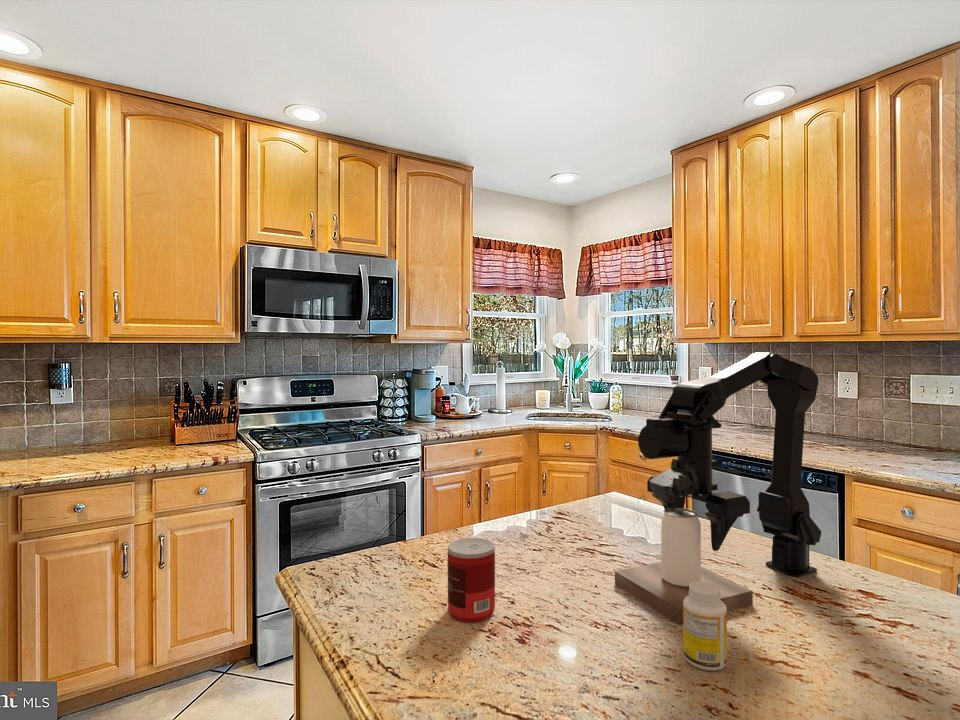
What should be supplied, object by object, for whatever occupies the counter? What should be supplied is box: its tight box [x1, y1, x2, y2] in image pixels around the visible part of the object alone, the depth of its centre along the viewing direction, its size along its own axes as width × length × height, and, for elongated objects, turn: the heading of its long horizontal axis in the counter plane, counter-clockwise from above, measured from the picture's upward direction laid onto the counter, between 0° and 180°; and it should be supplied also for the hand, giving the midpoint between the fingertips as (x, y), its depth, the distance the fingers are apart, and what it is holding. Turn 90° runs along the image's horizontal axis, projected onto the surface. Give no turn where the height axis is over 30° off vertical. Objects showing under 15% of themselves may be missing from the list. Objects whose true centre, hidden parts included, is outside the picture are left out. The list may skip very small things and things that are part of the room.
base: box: [614, 561, 754, 626], centre depth 95 cm, size 16×16×2 cm
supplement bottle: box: [682, 582, 728, 672], centre depth 74 cm, size 6×6×10 cm
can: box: [660, 507, 702, 587], centre depth 95 cm, size 6×6×12 cm
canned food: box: [447, 537, 496, 624], centre depth 89 cm, size 8×8×11 cm
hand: (694, 541), depth 96 cm, fingers open, 9 cm apart
